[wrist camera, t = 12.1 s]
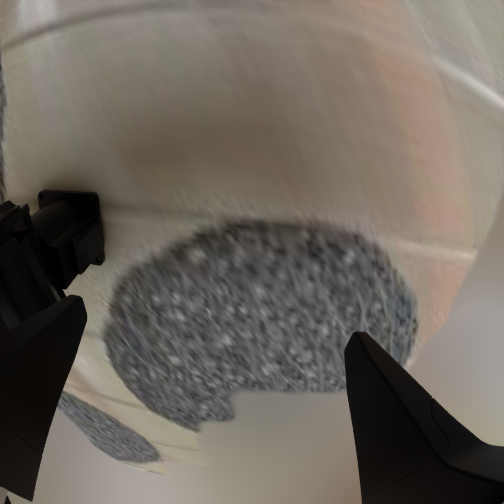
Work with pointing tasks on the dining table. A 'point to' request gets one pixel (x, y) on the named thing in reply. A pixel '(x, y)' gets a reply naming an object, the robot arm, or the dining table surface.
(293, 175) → the dining table surface
